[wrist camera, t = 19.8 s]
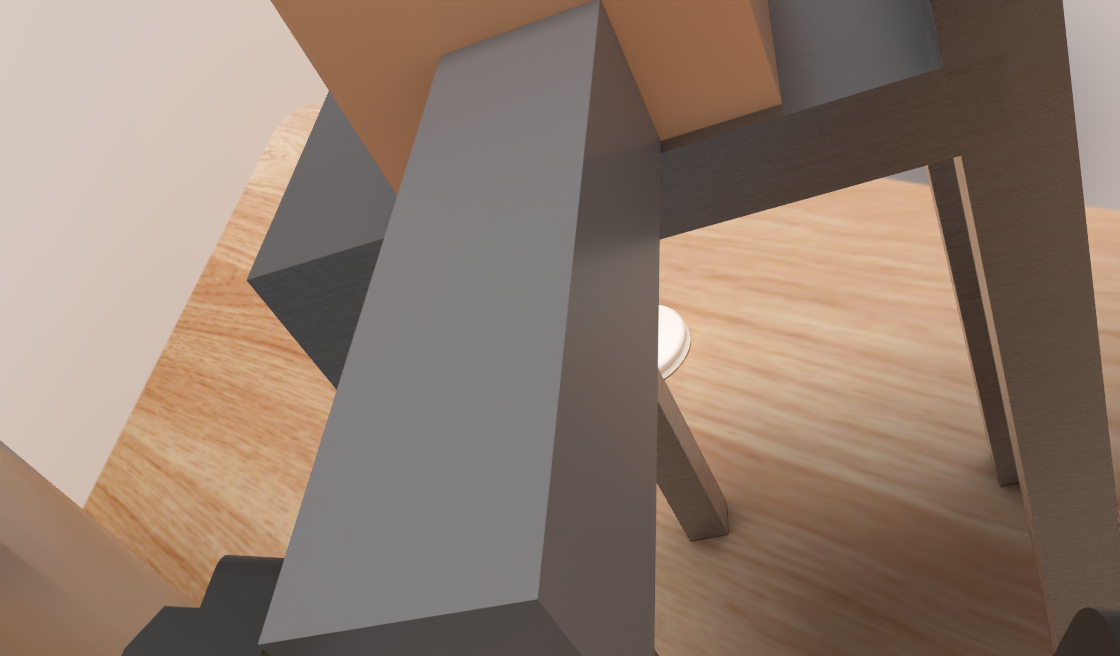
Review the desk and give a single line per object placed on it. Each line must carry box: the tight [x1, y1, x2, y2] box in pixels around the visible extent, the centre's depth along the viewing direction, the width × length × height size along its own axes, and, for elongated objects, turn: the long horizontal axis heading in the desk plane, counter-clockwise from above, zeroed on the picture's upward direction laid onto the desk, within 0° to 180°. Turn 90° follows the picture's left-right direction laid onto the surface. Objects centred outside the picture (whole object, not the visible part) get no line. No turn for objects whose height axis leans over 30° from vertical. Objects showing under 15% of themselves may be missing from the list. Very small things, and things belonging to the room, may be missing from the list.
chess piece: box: [658, 305, 691, 379], centre depth 45 cm, size 5×5×10 cm
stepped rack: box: [247, 0, 1120, 656], centre depth 23 cm, size 12×24×32 cm, turn 86°
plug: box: [258, 0, 782, 656], centre depth 14 cm, size 17×6×4 cm, turn 176°
